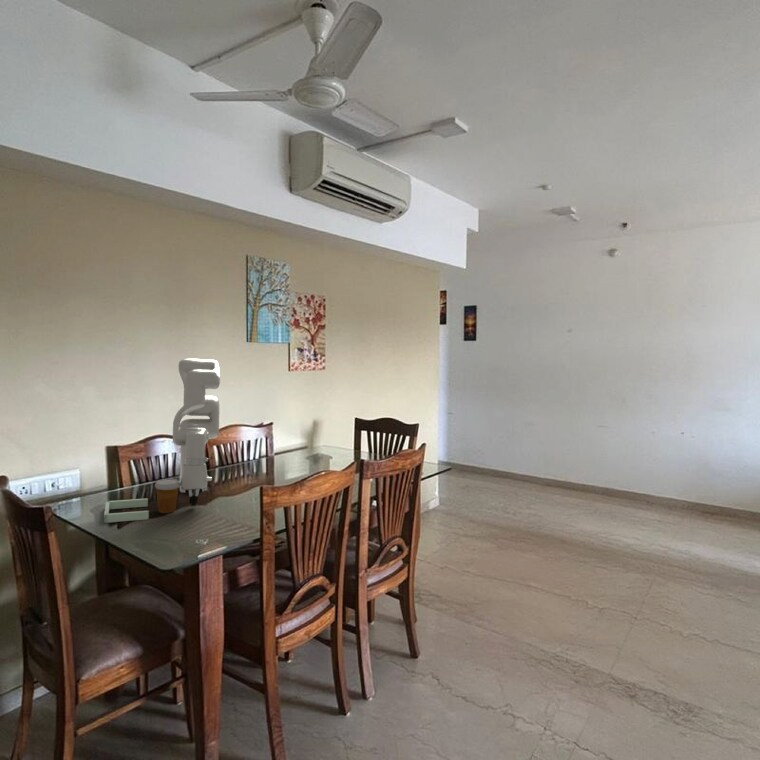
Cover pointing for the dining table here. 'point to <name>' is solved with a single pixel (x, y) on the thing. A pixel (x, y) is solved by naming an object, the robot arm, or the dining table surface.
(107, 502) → the bay
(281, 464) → the dining table surface
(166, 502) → the disposable coffee cup
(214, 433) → the robot arm
